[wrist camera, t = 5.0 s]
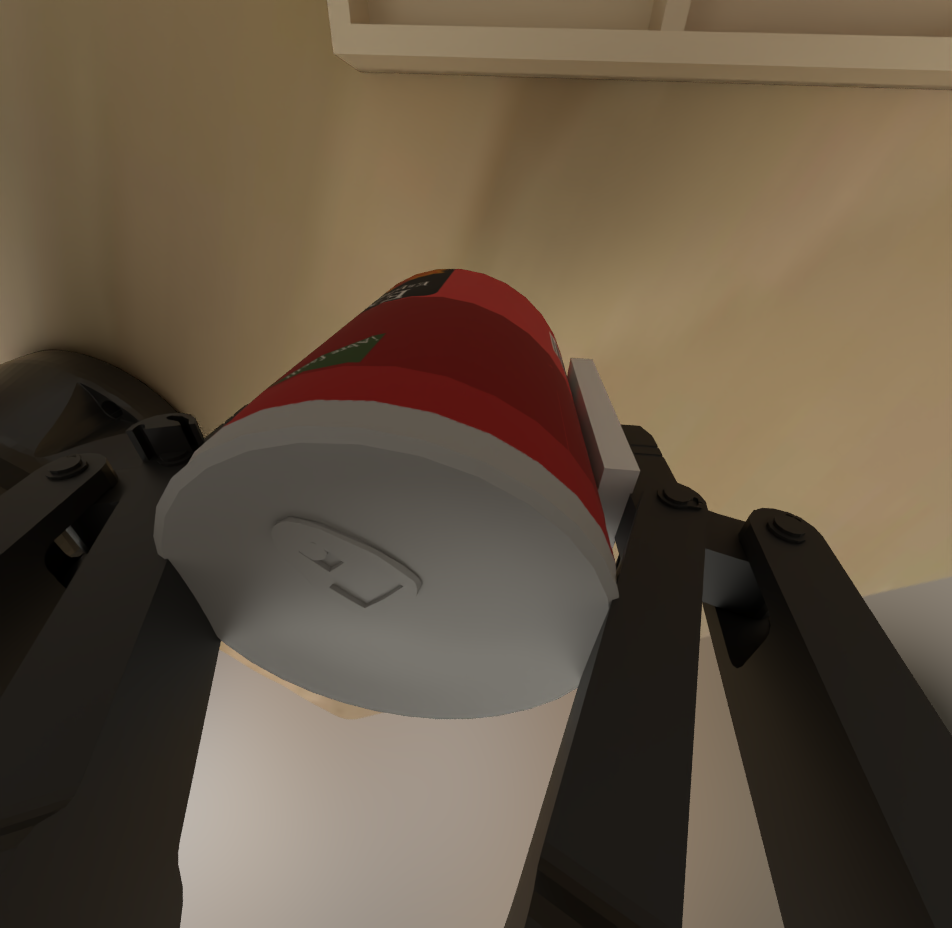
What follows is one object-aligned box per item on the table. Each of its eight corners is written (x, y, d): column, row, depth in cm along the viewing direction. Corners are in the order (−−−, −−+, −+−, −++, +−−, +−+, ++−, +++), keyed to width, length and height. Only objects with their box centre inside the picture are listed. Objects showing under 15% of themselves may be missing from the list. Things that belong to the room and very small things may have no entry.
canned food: (419, 211, 12) (176, 282, 4) (606, 349, 15) (748, 610, 6) (336, 392, 17) (127, 633, 8) (492, 479, 19) (469, 751, 10)
